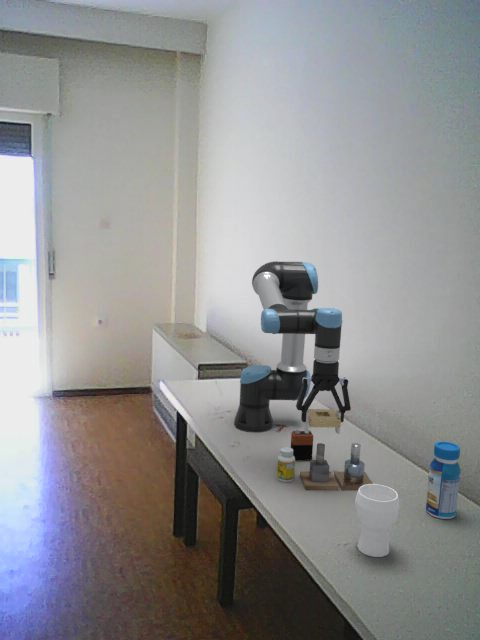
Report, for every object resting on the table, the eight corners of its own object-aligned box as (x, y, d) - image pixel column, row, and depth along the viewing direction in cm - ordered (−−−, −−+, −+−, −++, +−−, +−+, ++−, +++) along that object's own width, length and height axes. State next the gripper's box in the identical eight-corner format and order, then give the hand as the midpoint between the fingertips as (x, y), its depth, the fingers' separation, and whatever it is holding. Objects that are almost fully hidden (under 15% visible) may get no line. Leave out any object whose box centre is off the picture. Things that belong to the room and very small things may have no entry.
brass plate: (304, 416, 184) (305, 409, 184) (333, 417, 185) (333, 409, 185) (310, 427, 175) (311, 419, 175) (340, 427, 176) (341, 419, 176)
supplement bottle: (297, 481, 184) (298, 451, 183) (281, 483, 182) (283, 454, 180) (288, 474, 189) (290, 445, 187) (273, 476, 187) (275, 447, 185)
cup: (346, 537, 152) (351, 482, 150) (387, 537, 153) (391, 482, 151) (358, 561, 142) (363, 502, 139) (401, 560, 143) (406, 502, 140)
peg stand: (333, 476, 189) (336, 438, 187) (364, 476, 190) (367, 438, 188) (341, 490, 179) (344, 451, 177) (373, 490, 180) (377, 451, 178)
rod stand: (299, 475, 188) (301, 438, 186) (330, 475, 189) (333, 438, 187) (305, 490, 178) (307, 450, 176) (338, 490, 179) (341, 451, 177)
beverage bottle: (452, 523, 162) (460, 454, 158) (421, 514, 166) (428, 446, 163) (459, 511, 169) (466, 444, 165) (429, 502, 173) (435, 437, 170)
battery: (312, 460, 200) (314, 432, 198) (292, 461, 199) (294, 432, 198) (309, 455, 204) (310, 428, 203) (289, 455, 204) (291, 428, 202)
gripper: (292, 362, 172) (288, 436, 176) (365, 364, 174) (359, 436, 178) (288, 356, 179) (284, 427, 183) (358, 357, 181) (353, 427, 185)
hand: (321, 431), depth 181 cm, fingers closed on brass plate, 9 cm apart
